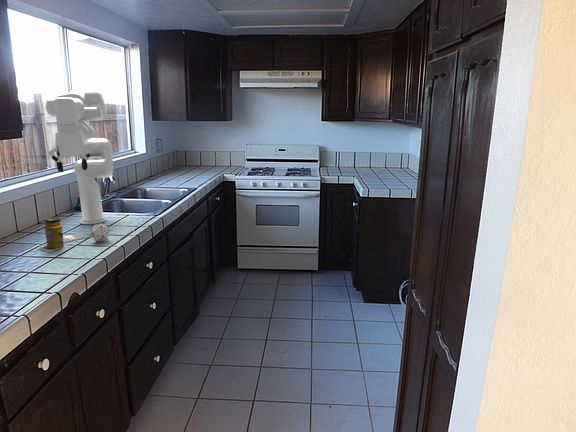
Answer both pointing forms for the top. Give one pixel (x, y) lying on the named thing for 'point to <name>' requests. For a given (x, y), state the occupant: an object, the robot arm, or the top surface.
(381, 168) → the top surface
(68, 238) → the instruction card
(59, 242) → the condiment
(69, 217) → the top surface
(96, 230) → the game die
